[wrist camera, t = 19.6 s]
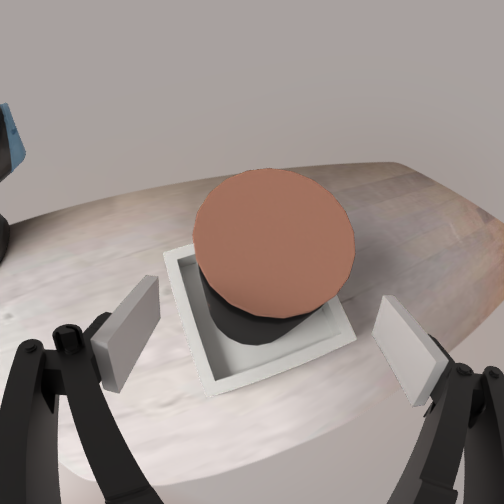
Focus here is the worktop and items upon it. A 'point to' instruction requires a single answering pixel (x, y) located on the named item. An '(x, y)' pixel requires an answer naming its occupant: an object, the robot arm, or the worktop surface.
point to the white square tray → (240, 355)
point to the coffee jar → (270, 252)
